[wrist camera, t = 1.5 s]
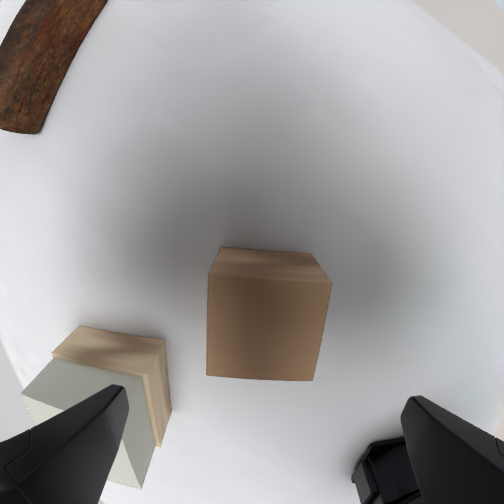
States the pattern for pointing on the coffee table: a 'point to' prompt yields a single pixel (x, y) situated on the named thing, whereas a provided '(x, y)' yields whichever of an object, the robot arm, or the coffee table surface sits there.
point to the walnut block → (265, 314)
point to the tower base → (125, 365)
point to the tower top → (83, 386)
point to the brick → (40, 58)
